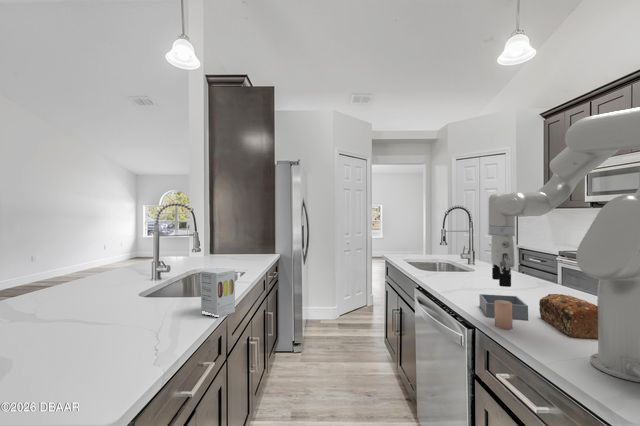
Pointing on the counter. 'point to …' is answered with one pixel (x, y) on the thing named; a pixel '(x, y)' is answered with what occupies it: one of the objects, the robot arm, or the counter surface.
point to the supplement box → (218, 291)
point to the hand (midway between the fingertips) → (501, 282)
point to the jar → (503, 314)
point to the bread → (570, 315)
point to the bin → (517, 304)
